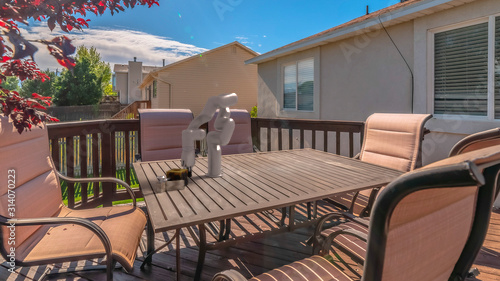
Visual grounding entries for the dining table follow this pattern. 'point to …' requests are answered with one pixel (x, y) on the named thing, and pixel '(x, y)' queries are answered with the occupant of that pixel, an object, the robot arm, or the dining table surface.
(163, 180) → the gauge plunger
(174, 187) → the centring jig
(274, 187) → the dining table surface
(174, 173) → the candle
